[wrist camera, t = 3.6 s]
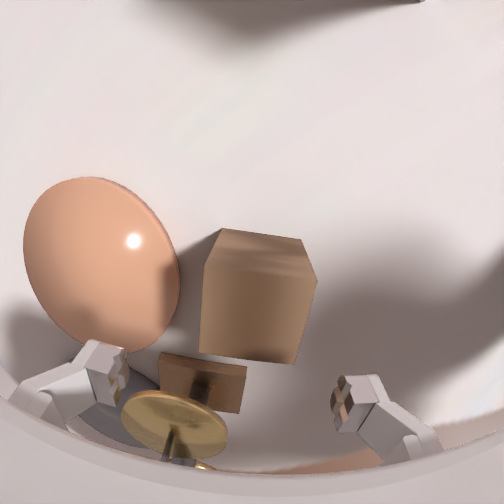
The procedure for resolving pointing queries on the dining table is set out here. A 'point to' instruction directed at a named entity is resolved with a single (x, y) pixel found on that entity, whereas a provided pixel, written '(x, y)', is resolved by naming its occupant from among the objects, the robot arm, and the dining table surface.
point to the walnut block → (255, 297)
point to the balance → (186, 409)
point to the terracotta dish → (101, 263)
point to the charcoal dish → (117, 410)
